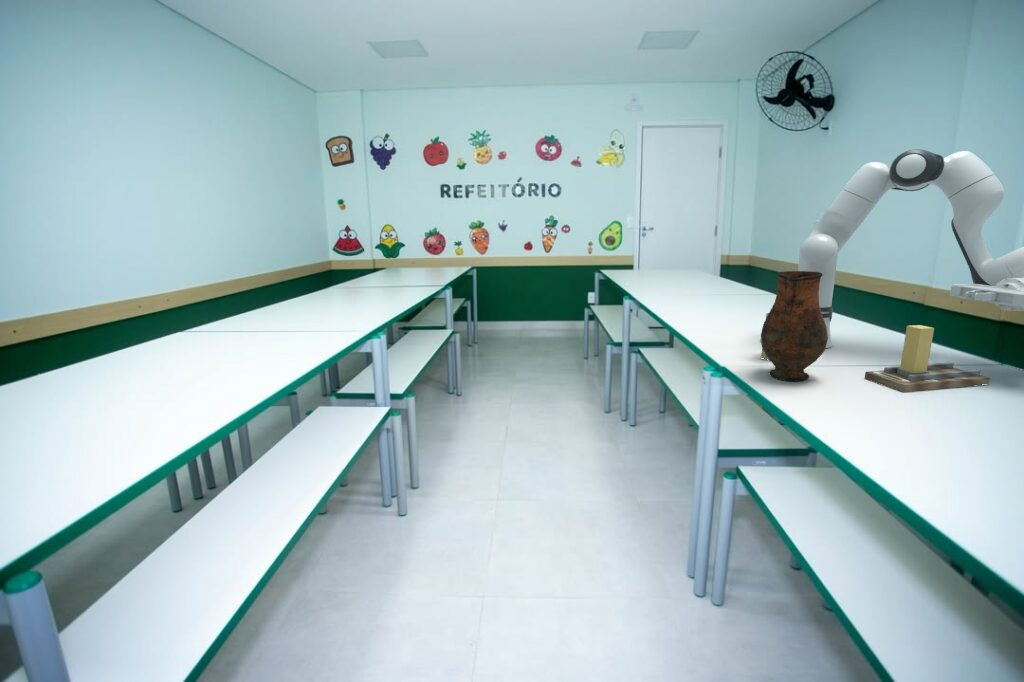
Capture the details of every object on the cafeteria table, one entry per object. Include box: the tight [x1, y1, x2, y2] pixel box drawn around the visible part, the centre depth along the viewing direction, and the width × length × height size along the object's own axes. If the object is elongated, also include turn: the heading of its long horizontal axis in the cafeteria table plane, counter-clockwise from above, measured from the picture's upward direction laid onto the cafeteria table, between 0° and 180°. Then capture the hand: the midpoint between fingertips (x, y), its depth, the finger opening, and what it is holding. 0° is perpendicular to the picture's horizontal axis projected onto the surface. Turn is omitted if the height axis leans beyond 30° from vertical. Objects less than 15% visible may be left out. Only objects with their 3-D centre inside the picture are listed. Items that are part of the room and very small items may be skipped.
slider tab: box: [897, 324, 935, 377], centre depth 133 cm, size 5×4×14 cm
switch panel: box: [864, 361, 991, 393], centre depth 135 cm, size 26×12×4 cm, turn 99°
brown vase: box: [760, 270, 828, 382], centre depth 142 cm, size 17×21×30 cm
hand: (970, 295), depth 132 cm, fingers closed
